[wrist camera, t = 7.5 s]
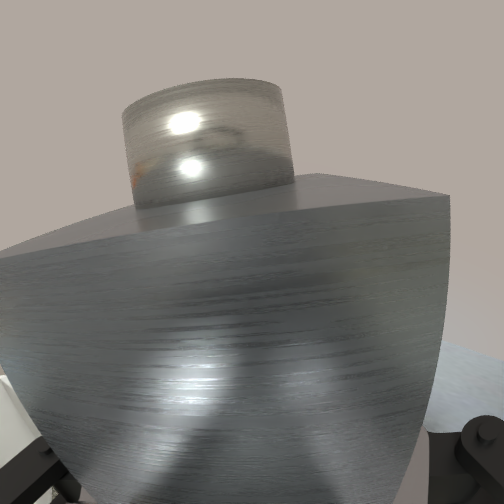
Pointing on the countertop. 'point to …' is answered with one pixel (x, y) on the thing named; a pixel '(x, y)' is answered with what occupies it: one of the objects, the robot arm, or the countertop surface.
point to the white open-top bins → (16, 429)
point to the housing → (231, 317)
